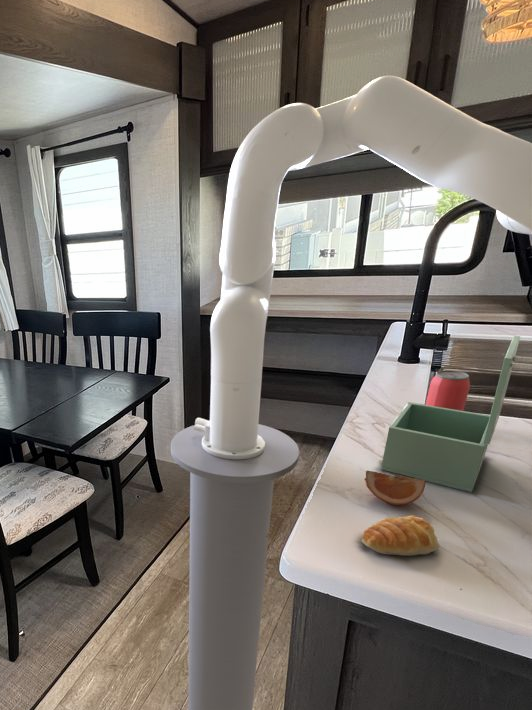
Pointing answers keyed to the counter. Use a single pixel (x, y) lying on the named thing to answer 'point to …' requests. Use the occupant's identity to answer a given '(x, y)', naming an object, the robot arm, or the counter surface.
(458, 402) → the beer can
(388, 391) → the counter surface
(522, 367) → the bin lid
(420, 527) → the pastry
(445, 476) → the bin
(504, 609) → the counter surface
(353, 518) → the counter surface
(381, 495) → the fruit slice
